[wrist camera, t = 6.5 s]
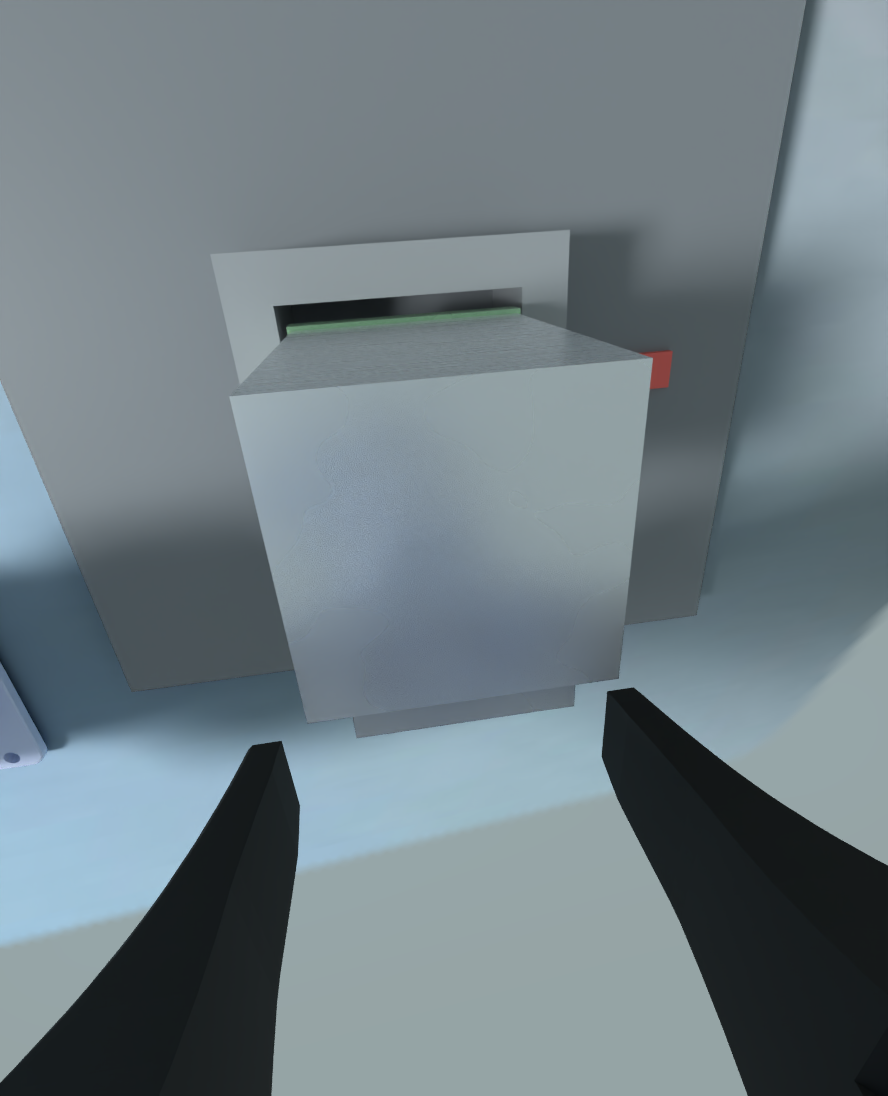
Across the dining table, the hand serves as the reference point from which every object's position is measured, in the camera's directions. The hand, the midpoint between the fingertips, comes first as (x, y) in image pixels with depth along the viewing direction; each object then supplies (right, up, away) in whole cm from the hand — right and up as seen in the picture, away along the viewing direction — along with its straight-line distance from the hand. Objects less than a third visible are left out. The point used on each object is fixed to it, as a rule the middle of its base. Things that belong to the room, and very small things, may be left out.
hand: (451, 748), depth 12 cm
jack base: (-1, +9, +4) cm, 10 cm away
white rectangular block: (-1, +7, +1) cm, 7 cm away
